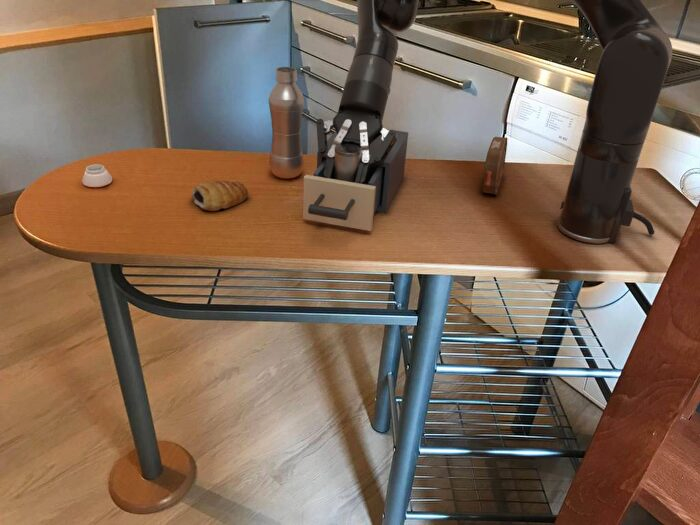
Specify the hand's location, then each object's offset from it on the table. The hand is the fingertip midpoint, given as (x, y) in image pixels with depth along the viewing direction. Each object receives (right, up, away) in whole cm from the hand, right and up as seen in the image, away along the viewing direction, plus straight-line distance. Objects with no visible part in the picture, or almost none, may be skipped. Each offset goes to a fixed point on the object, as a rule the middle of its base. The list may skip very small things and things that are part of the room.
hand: (343, 184), depth 100 cm
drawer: (0, -4, +4) cm, 6 cm away
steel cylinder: (0, -3, +4) cm, 5 cm away
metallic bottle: (-11, +4, +18) cm, 22 cm away
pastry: (-22, -2, +7) cm, 23 cm away
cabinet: (+3, +1, +15) cm, 15 cm away
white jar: (-44, +1, +11) cm, 46 cm away
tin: (+28, +2, +20) cm, 35 cm away
